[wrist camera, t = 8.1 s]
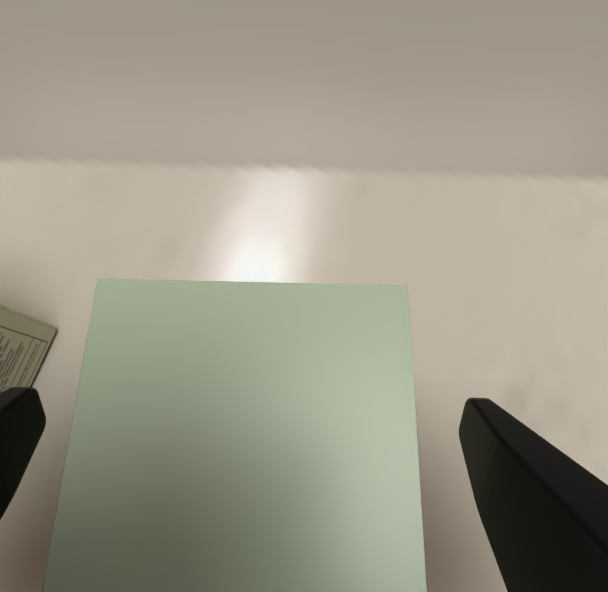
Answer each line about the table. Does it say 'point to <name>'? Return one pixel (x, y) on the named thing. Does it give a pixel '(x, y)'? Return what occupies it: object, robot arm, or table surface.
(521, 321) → the table surface
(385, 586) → the mint green pillar
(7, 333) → the skincare box
